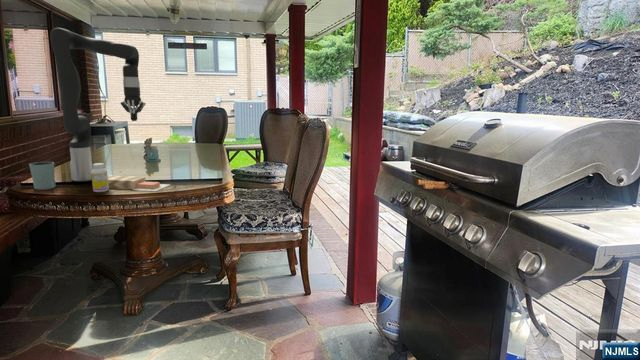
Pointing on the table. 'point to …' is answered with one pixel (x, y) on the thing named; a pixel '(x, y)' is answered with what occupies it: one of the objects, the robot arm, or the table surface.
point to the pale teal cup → (43, 175)
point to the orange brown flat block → (148, 185)
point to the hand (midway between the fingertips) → (134, 120)
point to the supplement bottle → (99, 178)
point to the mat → (153, 189)
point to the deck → (124, 181)
